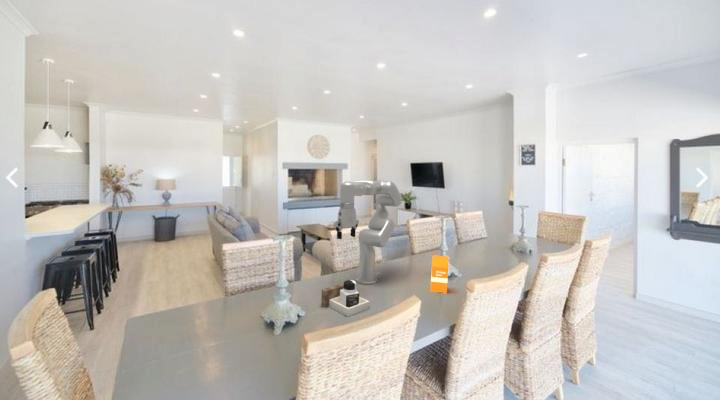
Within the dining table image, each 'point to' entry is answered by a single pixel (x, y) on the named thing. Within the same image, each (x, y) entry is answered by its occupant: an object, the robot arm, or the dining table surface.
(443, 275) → the orange juice
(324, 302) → the backstop wall
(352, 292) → the medicine bottle
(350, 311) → the white square tray
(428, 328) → the dining table surface
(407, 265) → the dining table surface
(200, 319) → the dining table surface
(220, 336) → the dining table surface
